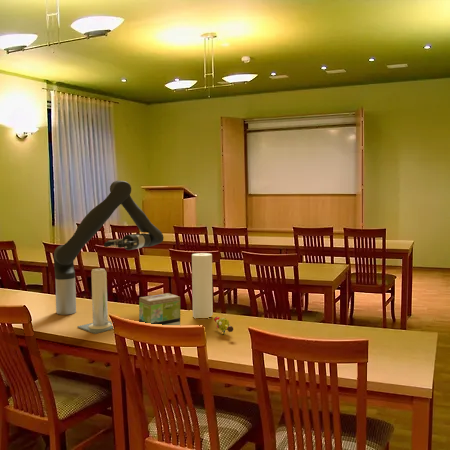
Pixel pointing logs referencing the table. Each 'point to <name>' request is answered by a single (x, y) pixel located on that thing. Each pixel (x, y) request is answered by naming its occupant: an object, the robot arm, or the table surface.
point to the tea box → (160, 309)
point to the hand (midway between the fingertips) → (111, 245)
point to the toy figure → (223, 324)
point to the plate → (96, 328)
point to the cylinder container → (202, 285)
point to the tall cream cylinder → (99, 297)
